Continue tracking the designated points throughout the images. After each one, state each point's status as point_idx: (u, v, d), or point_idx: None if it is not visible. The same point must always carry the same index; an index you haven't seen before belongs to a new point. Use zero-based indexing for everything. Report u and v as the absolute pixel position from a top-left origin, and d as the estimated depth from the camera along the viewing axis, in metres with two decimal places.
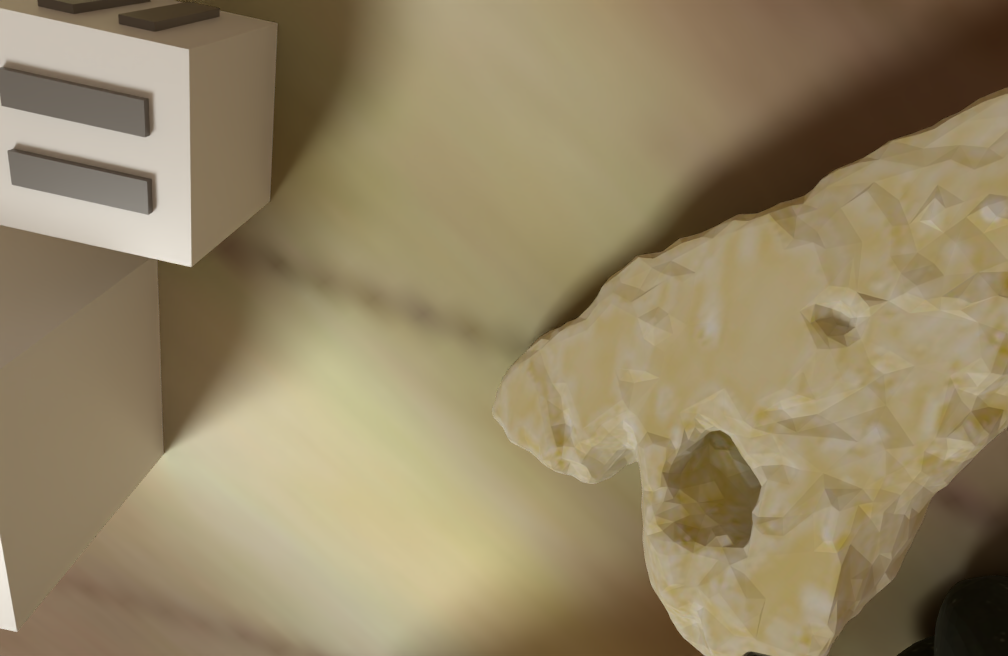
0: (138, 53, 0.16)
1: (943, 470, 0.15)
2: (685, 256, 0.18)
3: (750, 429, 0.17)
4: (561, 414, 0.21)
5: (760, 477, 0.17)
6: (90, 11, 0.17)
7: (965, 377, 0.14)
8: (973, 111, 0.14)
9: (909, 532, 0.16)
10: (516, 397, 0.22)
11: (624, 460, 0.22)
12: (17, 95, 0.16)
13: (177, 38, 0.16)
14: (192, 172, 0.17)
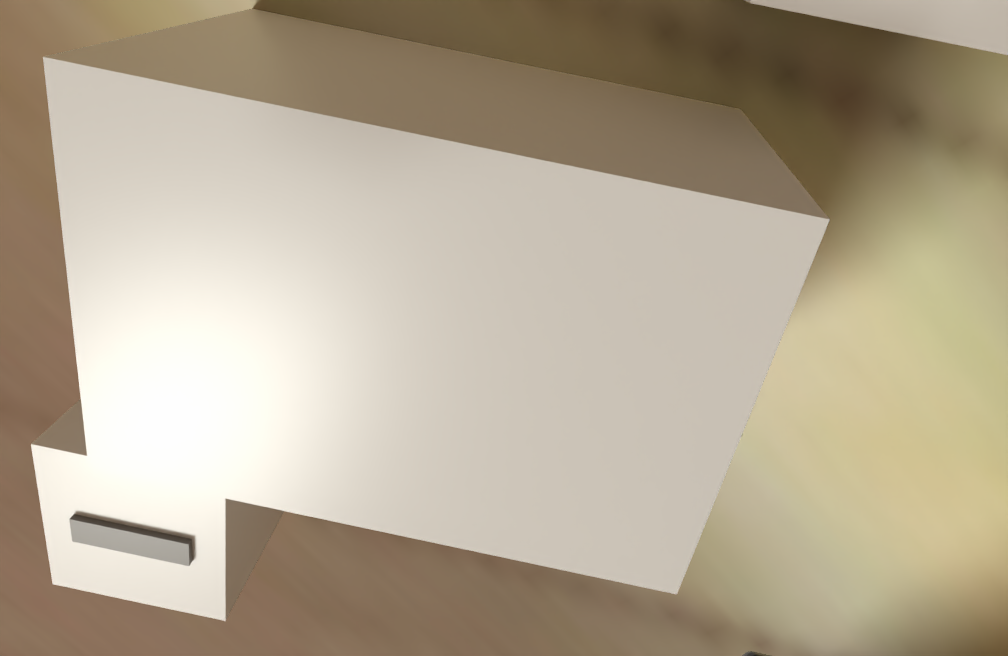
0: None
1: None
2: None
3: None
4: None
5: None
6: None
7: None
8: None
9: None
10: None
11: None
12: None
13: None
14: None
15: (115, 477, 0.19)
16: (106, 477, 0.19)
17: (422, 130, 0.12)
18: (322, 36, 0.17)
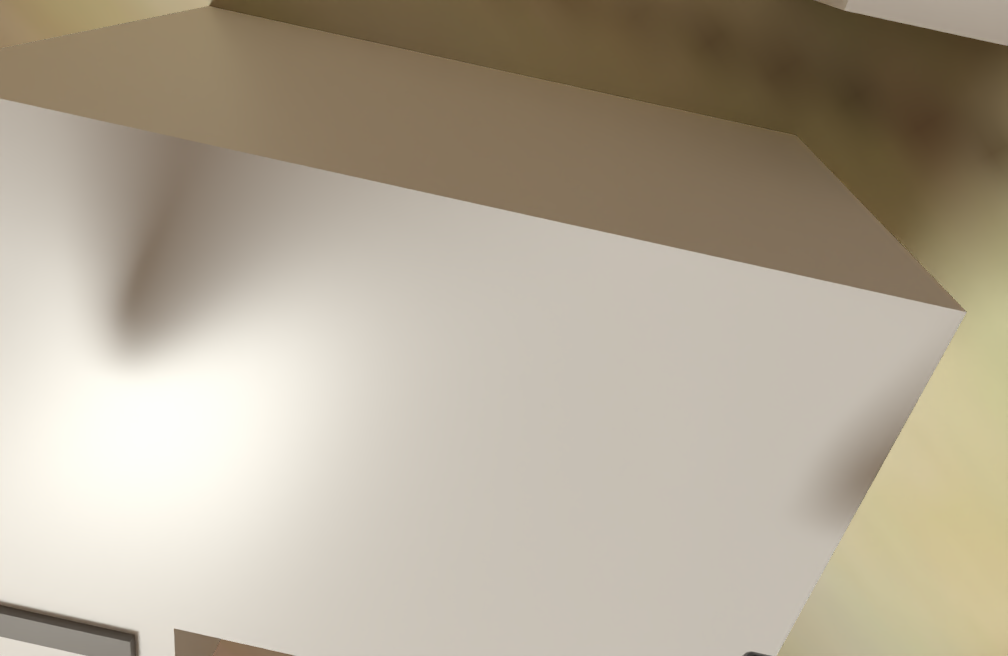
0: None
1: None
2: None
3: None
4: None
5: None
6: None
7: None
8: None
9: None
10: None
11: None
12: None
13: None
14: None
15: None
16: None
17: (406, 179, 0.08)
18: (290, 42, 0.14)
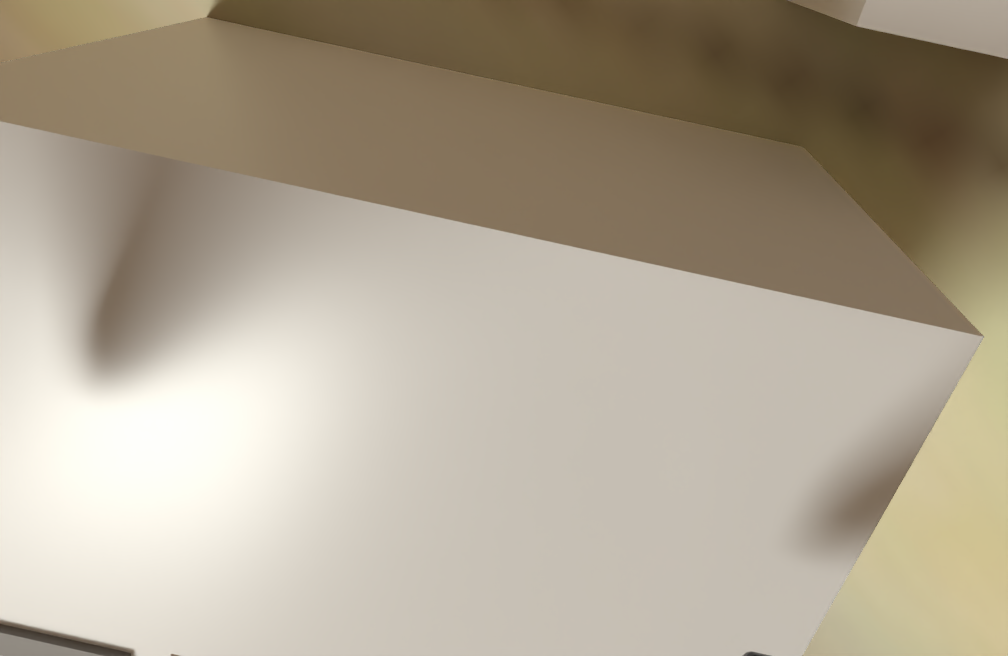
0: None
1: None
2: None
3: None
4: None
5: None
6: None
7: None
8: None
9: None
10: None
11: None
12: None
13: None
14: None
15: None
16: None
17: (406, 201, 0.08)
18: (288, 54, 0.13)
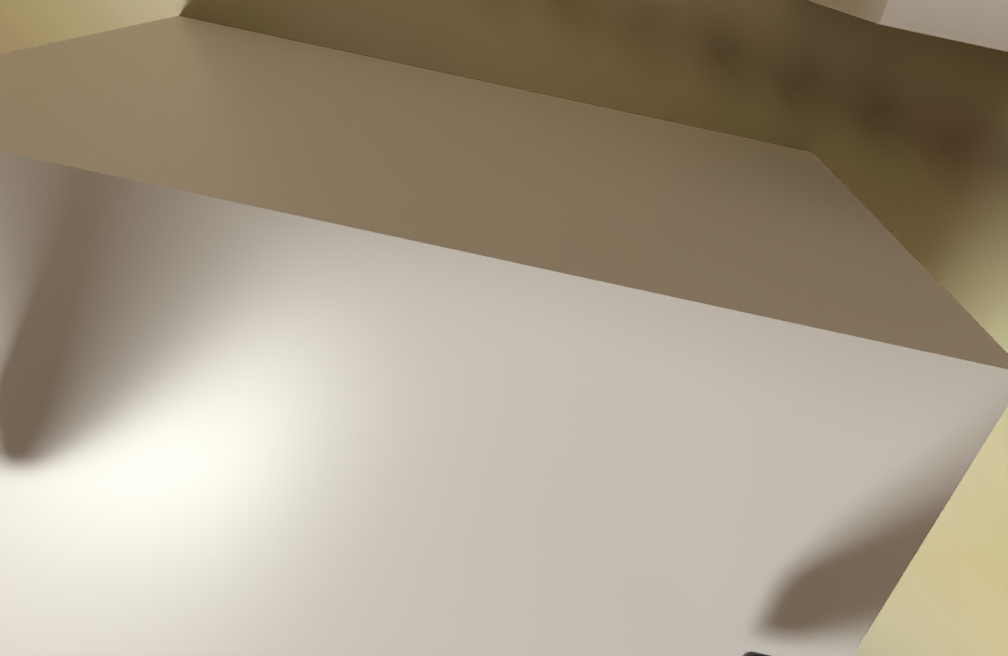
0: None
1: None
2: None
3: None
4: None
5: None
6: None
7: None
8: None
9: None
10: None
11: None
12: None
13: None
14: None
15: None
16: None
17: (379, 222, 0.07)
18: (263, 55, 0.12)
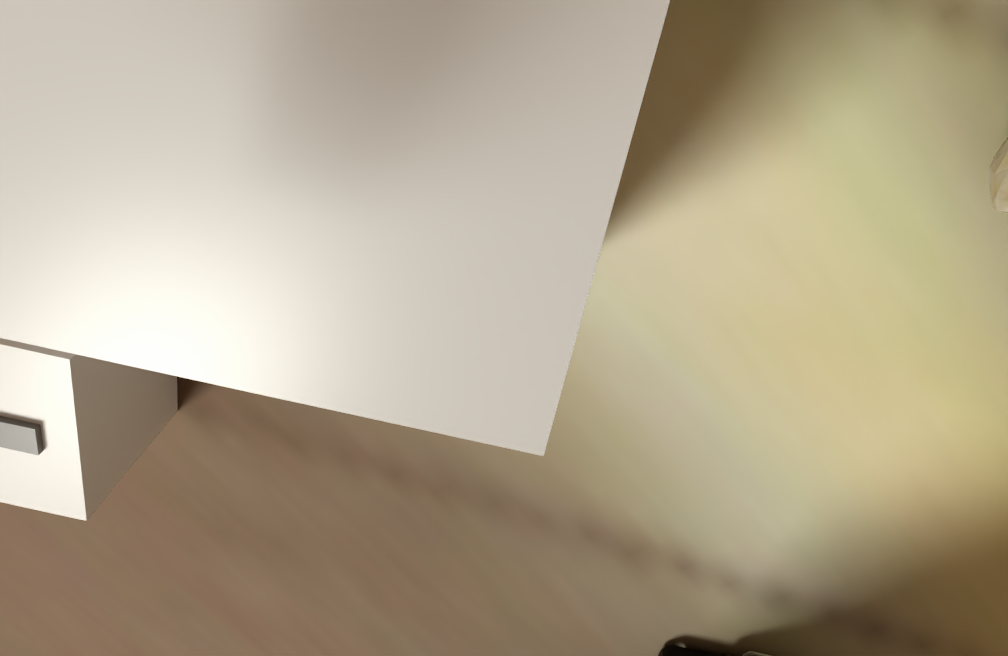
0: None
1: None
2: None
3: None
4: None
5: None
6: None
7: None
8: None
9: None
10: None
11: None
12: None
13: None
14: None
15: None
16: None
17: None
18: None
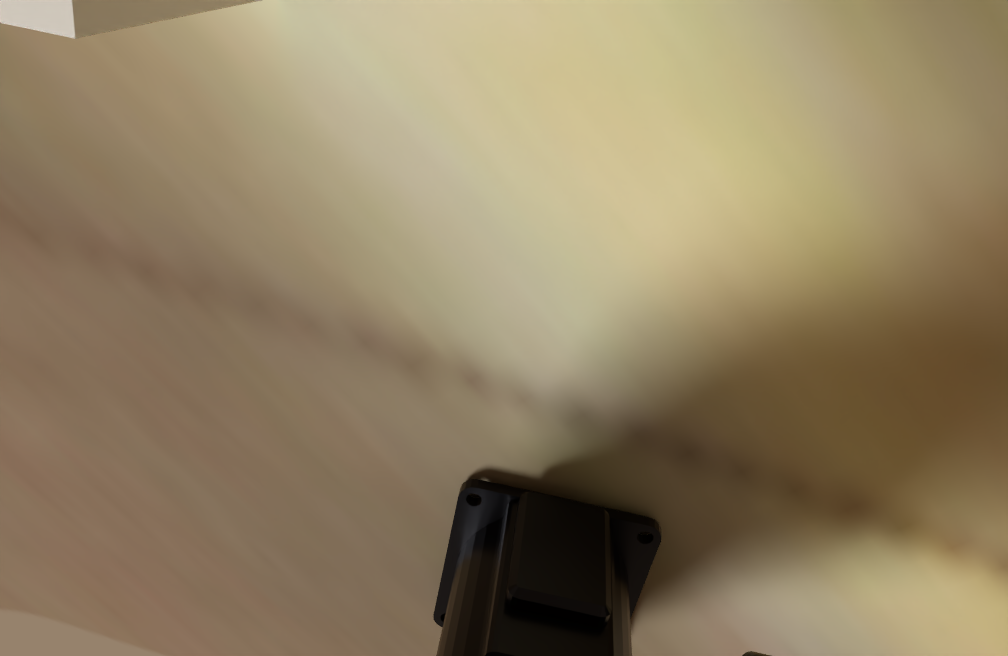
0: None
1: None
2: None
3: None
4: None
5: None
6: None
7: None
8: None
9: None
10: None
11: None
12: None
13: None
14: None
15: None
16: None
17: None
18: None
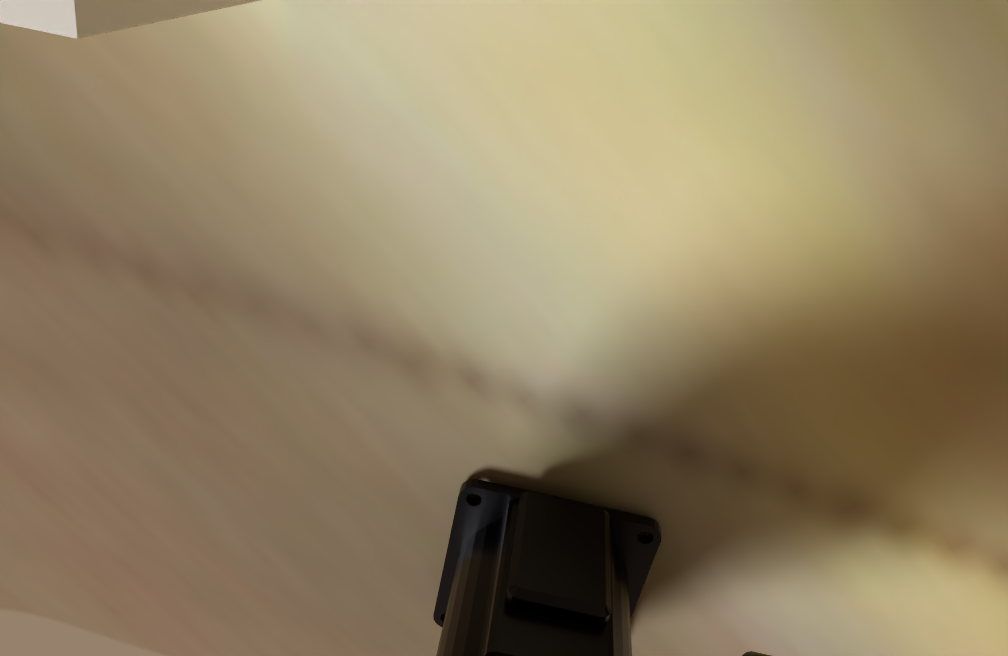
0: None
1: None
2: None
3: None
4: None
5: None
6: None
7: None
8: None
9: None
10: None
11: None
12: None
13: None
14: None
15: None
16: None
17: None
18: None
